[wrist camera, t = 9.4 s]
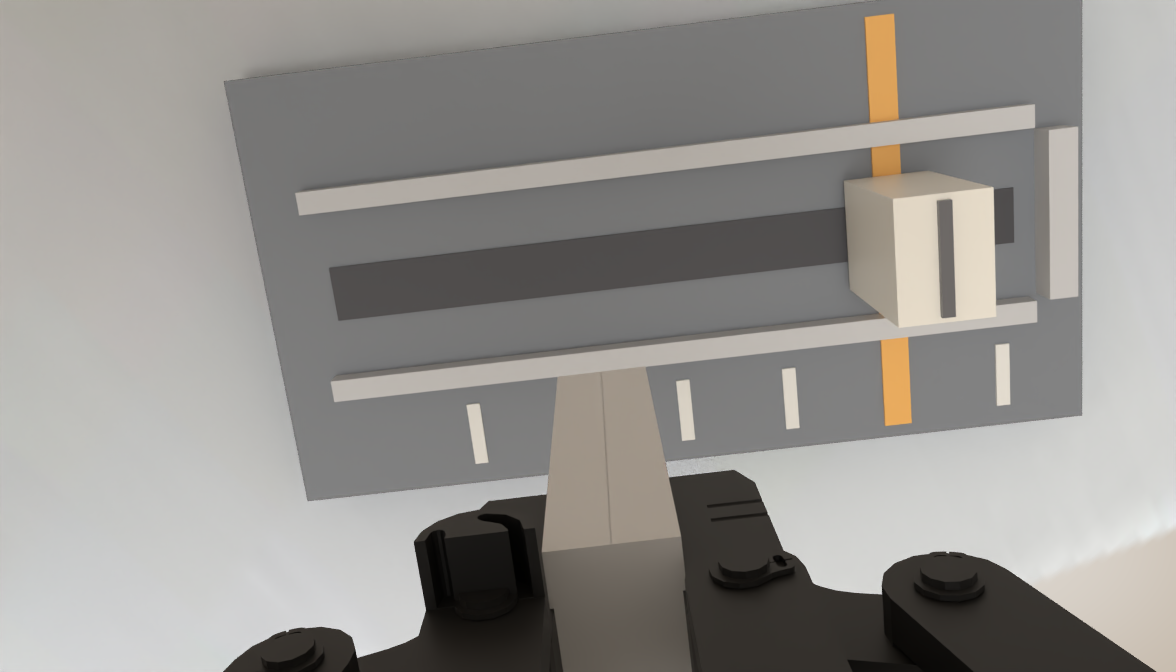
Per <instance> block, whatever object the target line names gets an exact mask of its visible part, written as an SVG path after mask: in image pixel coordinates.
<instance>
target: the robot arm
mask: <svg viewBox="0 0 1176 672" xmlns="http://www.w3.org/2000/svg"><path fill="white" fill-rule="evenodd" d="M414 546H415V552H416V557H417V563H418V568H419V574H420V579H421V585H422V590H423V596H424V601H425V607H426V613H425V616H424V619H423V623H422V626H421V630H420V633H419V636H418V637H416V638H414V639H412V640H410V641H408V642H406V643H403V644H401V645H398V646H395V647H392V648H389V649H387V650H383V651H380V652H376V653H373V654H370V655H366V656H363V657H359V658H357V655H356V651H355V646H354V643H353V639H352V637H351V636H349V635H347V634H346V633H344V632H343V631H341V630H338V629H331V628H325V627H316V628H296V629H291V630H289V632H286V631H284V632H280V633H277V634H275V635H273V636H271V637H270V638H269V639H267V640H265V641H263V642H261V643H258V644H256V645H254V646H252V647H251V648H250V649H248V650H247V651H246V652H244V653H243V654H242V655H241V656H239V657H238V658H237V659H235V660H234V661H233V662H232V663H231V664H230V665H229V666H228V667H227V668H226V669H225V670H224V671H223V672H1156V671H1155V670H1153V669H1152V668H1150V667H1149V666H1147V665H1146V664H1144V663H1143V662H1141V661H1140V660H1139V659H1137V658H1135V657H1134V656H1133V655H1131V654H1130V653H1128V652H1127V651H1125V650H1124V649H1122V648H1121V647H1119V646H1118V645H1117V644H1115V643H1114V642H1112V641H1111V640H1109V639H1108V638H1106V637H1105V636H1103V635H1102V634H1101V633H1099V632H1098V631H1096V630H1095V629H1093V628H1091V627H1090V626H1089V625H1087V624H1086V623H1084V622H1083V621H1081V620H1080V619H1079V618H1077V617H1076V616H1074V615H1073V614H1071V613H1070V612H1068V611H1067V610H1065V609H1064V608H1063V607H1061V606H1060V605H1058V604H1057V603H1055V602H1054V601H1052V600H1050V599H1049V598H1048V597H1046V596H1045V595H1043V594H1042V593H1041V592H1039V591H1038V590H1036V589H1035V588H1033V587H1032V586H1030V585H1029V584H1027V583H1026V582H1025V581H1023V580H1022V579H1020V578H1019V577H1017V576H1016V575H1014V574H1013V573H1011V572H1010V571H1008V570H1007V569H1005V568H1003V567H1001V566H999V565H997V564H995V563H993V562H991V561H989V560H986V559H982V558H977V557H973V556H969V555H966V554H964V553H958V552H949V553H946V552H932V553H930V554H925V555H918V556H912V557H910V558H907V559H905V560H902V561H899V562H897V563H895V564H893V565H892V566H891V567H890V568H889V569H888V570H887V571H886V572H885V573H884V575H883V581H882V595H880V594H863V593H851V592H843V591H836V590H832V589H828V588H824V587H820V586H818V585H815V584H813V582H812V580H811V578H810V576H809V574H808V571H807V569H806V567H805V566H804V564H803V563H802V562H801V561H800V560H799V559H798V558H797V557H796V556H794V555H792V554H790V553H788V552H785V551H783V548H782V546H781V543H780V541H779V539H778V536H777V534H776V532H775V529H774V527H773V524H772V522H771V520H770V517H769V515H768V514H767V510H766V508H765V506H764V503H763V502H762V498H761V496H760V494H759V491H758V489H757V487H756V484H755V482H753V481H752V480H750V479H748V478H747V477H745V476H743V475H742V474H740V473H738V472H737V471H735V470H729V471H721V472H712V473H704V474H695V475H687V476H678V477H668V472H667V467H666V462H665V458H664V453H663V448H662V443H661V439H660V434H659V429H658V424H657V420H656V415H655V410H654V405H653V401H652V396H651V391H650V386H649V382H648V377H647V372H646V367H645V366H643V367H635V368H626V369H618V370H610V371H601V372H593V373H585V374H576V375H568V376H559V377H558V379H557V390H556V401H555V412H554V423H553V433H552V444H551V455H550V466H549V477H548V488H547V495H538V496H530V497H521V498H512V499H504V500H495V501H488V502H487V503H486V504H485V505H484V506H483V507H482V508H481V509H480V510H476V511H471V512H466V513H460V514H457V515H454V516H451V517H448V518H446V519H443V520H440V521H438V522H436V523H434V524H433V525H431V526H430V527H428V528H426V529H425V530H423V531H422V532H421V533H420V535H419V536H418V537H417V538H416V540H415V541H414Z"/></svg>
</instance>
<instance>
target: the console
mask: <svg viewBox="0 0 1176 672" xmlns="http://www.w3.org/2000/svg"><path fill="white" fill-rule="evenodd" d="M224 85H225V90H226V95H227V100H228V105H229V110H230V115H231V120H232V125H233V130H234V135H235V140H236V145H237V150H238V155H239V160H240V165H241V170H242V175H243V180H244V185H245V190H246V195H247V200H248V205H249V210H250V215H251V220H252V225H253V230H254V235H255V240H256V245H257V250H258V255H259V260H260V265H261V270H262V275H263V280H264V285H265V290H266V295H267V300H268V305H269V310H270V315H271V320H272V325H273V330H274V335H275V340H276V345H277V350H278V355H279V360H280V365H281V370H282V375H283V380H284V385H285V390H286V395H287V400H288V405H289V410H290V415H291V420H292V425H293V430H294V435H295V440H296V445H297V450H298V455H299V460H300V465H301V470H302V475H303V480H304V485H305V490H306V495H307V500H308V501H314V500H323V499H332V498H341V497H350V496H359V495H368V494H377V493H386V492H395V491H404V490H413V489H422V488H431V487H440V486H449V485H458V484H467V483H476V482H486V481H495V480H504V479H513V478H522V477H531V476H540V475H549V466H550V455H551V444H552V433H553V423H554V412H555V401H556V390H557V379H558V377H559V376H568V375H576V374H585V373H593V372H601V371H610V370H618V369H626V368H635V367H643V366H645V367H646V372H647V377H648V382H649V386H650V391H651V396H652V401H653V405H654V410H655V415H656V420H657V424H658V429H659V434H660V439H661V443H662V448H663V453H664V458H665V462H666V461H675V460H684V459H693V458H702V457H711V456H720V455H729V454H738V453H747V452H756V451H765V450H774V449H783V448H792V447H802V446H811V445H820V444H829V443H838V442H847V441H856V440H865V439H874V438H883V437H892V436H901V435H910V434H919V433H928V432H937V431H946V430H955V429H964V428H973V427H982V426H991V425H1000V424H1009V423H1018V422H1027V421H1036V420H1045V419H1054V418H1063V417H1072V416H1081V415H1082V0H877V1H869V2H861V3H853V4H845V5H837V6H829V7H821V8H813V9H805V10H797V11H788V12H780V13H772V14H764V15H756V16H748V17H740V18H732V19H724V20H716V21H708V22H700V23H691V24H683V25H675V26H667V27H659V28H651V29H643V30H635V31H627V32H619V33H611V34H602V35H594V36H586V37H578V38H570V39H562V40H554V41H546V42H538V43H530V44H522V45H514V46H505V47H497V48H489V49H481V50H473V51H465V52H457V53H449V54H441V55H433V56H425V57H417V58H408V59H400V60H392V61H384V62H376V63H368V64H360V65H352V66H344V67H336V68H328V69H319V70H311V71H303V72H295V73H287V74H279V75H271V76H263V77H255V78H247V79H239V80H231V81H224ZM920 171H932V172H936V173H940V174H944V175H947V176H951V177H955V178H959V179H963V180H967V181H971V182H975V183H979V184H983V185H987V186H991V187H994V232H995V279H996V317H991V318H982V319H973V320H964V321H956V322H947V323H938V324H929V325H920V326H912V327H903V328H898V327H897V326H896V325H894V324H893V323H892V322H890V321H889V320H888V319H887V318H885V317H884V316H883V315H882V314H880V313H879V312H878V311H876V310H875V309H874V308H873V307H871V306H870V305H869V304H868V303H866V302H865V301H864V300H862V299H861V298H860V297H859V296H857V295H856V294H855V293H854V292H852V291H851V290H850V282H849V264H848V247H847V229H846V211H845V194H844V180H853V179H861V178H869V177H878V176H886V175H895V174H903V173H912V172H920Z"/></svg>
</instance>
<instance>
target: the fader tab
mask: <svg viewBox="0 0 1176 672" xmlns="http://www.w3.org/2000/svg"><path fill="white" fill-rule="evenodd" d="M844 194H845V211H846V229H847V247H848V264H849V282H850V290H851V291H852V292H854V293H855V294H856V295H857V296H859V297H860V298H861V299H862V300H864V301H865V302H866V303H868V304H869V305H870V306H871V307H873V308H874V309H875V310H876V311H878V312H879V313H880V314H882V315H883V316H884V317H885V318H887V319H888V320H889V321H890V322H892V323H893V324H894V325H896V326H897V327H898V328H903V327H912V326H920V325H929V324H938V323H947V322H956V321H964V320H973V319H982V318H991V317H996V279H995V232H994V187H991V186H987V185H983V184H979V183H975V182H971V181H967V180H963V179H959V178H955V177H951V176H947V175H944V174H940V173H936V172H932V171H920V172H912V173H903V174H895V175H886V176H878V177H869V178H861V179H853V180H844Z"/></svg>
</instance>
